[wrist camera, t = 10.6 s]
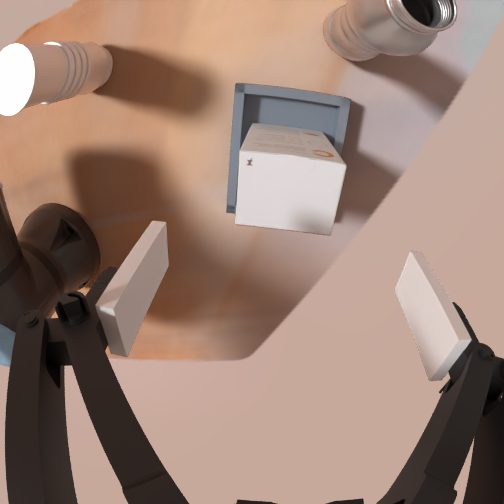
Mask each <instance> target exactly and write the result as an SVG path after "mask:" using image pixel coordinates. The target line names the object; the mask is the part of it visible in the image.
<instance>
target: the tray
mask: <svg viewBox="0 0 504 504" xmlns="http://www.w3.org/2000/svg"><path fill="white" fill-rule="evenodd" d="M350 102H351V99H349V98H346V97H342V96H336V95H331V94H325V93H319V92H313V91H307V90H300V89H293V88H285V87H277V86H268V85H258V84H246V83H236V84H235V95H234V107H233V120H232V133H231V147H230V161H229V177H228V193H227V210H226V213H235V214H236V203H237V187H238V169H239V151H240V149H241V147H242V144H243V142H244V140H245V138H246V136H247V133H248V131H249V129H250V127H251V125H252V123H262V124H272V125H280V126H289V127H296V128H303V129H310V130H316V131H322V132H323V133H324V135H325V136H326V137H327V139H328V140H329V141H330V143H331V144H332V146H333V147H334V148H335V150H336V151H337V152H338V154H339V155H340V157H341V155H342V149H343V144H344V138H345V133H346V127H347V121H348V115H349V109H350Z"/></svg>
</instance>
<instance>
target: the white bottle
mask: <svg viewBox="0 0 504 504" xmlns="http://www.w3.org/2000/svg"><path fill="white" fill-rule="evenodd" d="M112 68H113V60H112V56H111V54H110V52H109V51H108V50H107V49H106V48H104V47H102V46H99V45H98V44H96V43H93V42H84V43H80V42H76V41H50V42H46V43H44V44H40V45H25V44H21V43H16V44H11V45H9V46H7V47H6V48H4V49H3V50H2V51H1V52H0V113H1V114H3V115H6V116H7V115H14V114H16V113H19V112H21V111H22V110H23V109H24V108H27V107H30V106H33V105H37V104H51V103H53V102H58V101H62V100H65V99H69V98H72V97H75V96H76V95H83V94H87V93H90V92H92V91H94V90H95V89H96V88H99V87H100V86H102V85H103V84H104V83H105V82H106V81H107V80H108V78H109V77H110V75H111V72H112Z"/></svg>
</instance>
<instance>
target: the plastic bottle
mask: <svg viewBox="0 0 504 504" xmlns="http://www.w3.org/2000/svg"><path fill="white" fill-rule="evenodd" d="M456 17H457V6H456V2H455V0H347V2H346V5H344V6H341V7H338V8H336V9H335V10H333V11H332V12H331V13H329V14H328V16H327V17H326V19H325V21H324V25H323V34H324V37H325V41H326V42H327V44H328V46H329V47H330V48H331V49H332V50H333V51H334V52H335V53H336V54H338V55H340V56H341V57H343V58H346V59H348V60H353V61H366V60H369V59H372V58H374V57H376V56H377V55H379V54H380V53H384V54H388V55H393V56H412V55H415V54H419V53H420V52H422V51H424V50H425V49H426V48H428V47H429V46H430V45H431V44H432V43H433V41H434V40H435V38H436V36H437V33H438V32H439V31H444V30H446V29H448V28H450V27H451V26H452V25H453V24H454V22H455V21H456Z"/></svg>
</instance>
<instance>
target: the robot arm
mask: <svg viewBox="0 0 504 504" xmlns="http://www.w3.org/2000/svg"><path fill="white" fill-rule="evenodd" d="M2 188H3V187H2V184H1V183H0V364H1V365H3V366H8V367H10V372H9V381H8V390H7V403H6V420H5V462H6V480H7V491H8V501H9V504H78V503H77V498H76V493H75V488H74V482H73V477H72V470H71V463H70V456H69V447H68V438H67V426H66V411H65V389H64V388H65V387H64V366H66V365H72V366H73V370H74V373H75V376H76V379H77V382H78V385H79V388H80V391H81V394H82V397H83V400H84V402H85V405H86V408H87V410H88V413H89V416H90V418H91V420H92V423H93V425H94V428H95V430H96V433H97V435H98V437H99V440H100V442H101V444H102V447H103V449H104V451H105V453H106V455H107V457H108V460H109V462H110V464H111V465H112V468H113V470H114V472H115V474H116V476H117V477H118V480H119V481H120V483H121V486H122V489H123V493H124V496H125V498H126V500H127V502H128V504H189V503H188V501H187V500H186V498H185V497H184V496H183V494H182V493H181V491H180V490H179V489H178V487H177V485H176V484H175V483H174V481H173V479H172V478H171V476H170V475H169V474H168V472H167V471H166V469H165V468H164V466H163V465H162V463H161V461H160V460H159V458H158V456H157V455H156V453H155V451H154V450H153V448H152V446H151V444H150V443H149V441H148V439H147V437H146V435H145V434H144V432H143V430H142V428H141V426H140V424H139V423H138V421H137V419H136V417H135V415H134V413H133V411H132V409H131V407H130V405H129V403H128V401H127V399H126V397H125V395H124V393H123V391H122V389H121V387H120V384H119V383H118V380H117V378H116V376H115V373H114V371H113V369H112V367H111V364H110V362H109V360H108V357H107V355H106V352H105V350H106V348H107V346H109V349H110V352H111V354H115V355H120V356H124V357H128V354H129V352H130V350H131V347H132V345H133V343H134V340H135V338H136V336H137V333H138V331H139V329H140V327H141V324H142V322H143V320H144V318H145V315H146V313H147V311H148V309H149V307H150V305H151V302H152V300H153V298H154V296H155V294H156V292H157V289H158V287H159V285H160V283H161V281H162V279H163V277H164V275H165V273H166V271H167V269H168V267H169V261H168V246H167V228H166V222H161V221H152V222H151V223H150V225H149V226H148V227H147V229H146V230H145V232H144V233H143V234H142V236H141V237H140V239H139V240H138V242H137V243H136V244H135V246H134V247H133V249H132V250H131V252H130V253H129V254H128V256H127V257H126V259H125V260H124V262H123V263H122V265H121V266H120V268H114V267H109V268H108V269H106V270H105V271H104V272H102V273H101V274H100V276H99V277H98V279H97V280H96V282H95V283H94V284H93V286H92V288H91V289H90V290H89V292H88V293H87V295H86V296H84V294H83V293H81V292H78V290H79V289H81V288H83V287H85V286H86V285H87V284H88V283H89V282H90V281H91V279H92V278H93V277H94V275H95V274H96V272H97V270H98V268H99V263H100V255H99V249H98V245H97V242H96V240H95V237H94V235H93V234H92V232H91V230H90V229H89V227H88V226H87V224H86V223H85V222H84V221H83V220H82V219H81V218H80V217H79V216H78V215H77V214H76V213H75V212H73V211H72V210H70V209H69V208H67V207H65V206H62V205H59V204H54V203H49V204H44V205H41V206H40V207H38V208H37V209H36V210H34V211H33V212H32V213H31V214H30V215H29V216H28V217H27V218H26V220H25V222H24V224H23V227H22V228H21V230H20V232H19V234H18V235H17V236H16V233H15V231H14V228H13V225H12V222H11V219H10V216H9V212H8V209H7V206H6V202H5V199H4V195H3V191H2ZM395 292H396V294H397V297H398V299H399V302H400V304H401V306H402V309H403V311H404V314H405V316H406V318H407V321H408V324H409V326H410V329H411V332H412V334H413V337H414V340H415V342H416V345H417V348H418V351H419V353H420V356H421V359H422V362H423V365H424V368H425V371H426V374H427V377H428V379H429V381H437V380H442V379H443V378H444V377H445V375H446V374H447V373H448V372H449V375H450V379H449V381H448V382H447V383H446V384H445V385H444V387H443V388H442V389H441V390H440V391H439V393H441V392H442V391H443V393H442V395H441V398H440V400H439V402H438V404H437V406H436V408H435V410H434V413H433V414H432V417H431V419H430V421H429V423H428V425H427V427H426V428H425V430H424V432H423V434H422V436H421V438H420V440H419V442H418V444H417V445H416V447H415V449H414V451H413V452H412V454H411V456H410V458H409V459H408V461H407V463H406V465H405V466H404V468H403V469H402V471H401V472H400V474H399V476H398V477H397V479H396V481H395V482H394V483H393V485H392V486H391V488H390V489H389V491H388V492H387V493H386V495H385V496H384V497H383V498H382V499H381V500H380V501H378V502H377V504H453V503H454V501H455V499H456V496H457V491H456V490H454V485H455V483H456V481H457V478H458V476H459V474H460V472H461V469H462V467H463V465H464V462H465V459H466V457H467V454H468V452H469V450H470V447H471V444H472V442H473V439H474V446H473V453H472V460H471V466H470V472H469V478H468V483H467V487H466V492H465V496H464V500H463V504H504V359H503V358H499V357H496V356H495V355H494V352H493V351H492V349H491V348H490V347H488V346H487V345H485V344H483V343H479V341H478V339H477V337H476V335H475V333H474V331H473V330H472V328H471V326H470V324H469V322H468V320H467V319H466V318H465V317H466V316H465V315H464V313H463V311H462V309H461V308H460V307H459V306H458V305H457V304H456V303H455V302H451V300H450V298H449V296H448V295H447V293H446V291H445V289H444V288H443V286H442V284H441V283H440V281H439V279H438V278H437V276H436V274H435V273H434V271H433V269H432V268H431V266H430V265H429V263H428V262H427V260H426V258H425V257H424V255H423V254H422V253H421V252H416V251H410V253H409V256H408V258H407V261H406V263H405V266H404V269H403V271H402V274H401V276H400V278H399V281H398V283H397V286H396V288H395ZM55 311H56V313H57V315H58V318H51V317H52V315H53V314H54V312H55ZM50 318H51V319H50ZM501 396H502V398H501ZM474 436H475V437H474ZM236 504H276V503H272V502H263V501H248V500H237V503H236ZM327 504H364V501H363V499H355V500H343V501H334V502H330V503H327Z"/></svg>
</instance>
